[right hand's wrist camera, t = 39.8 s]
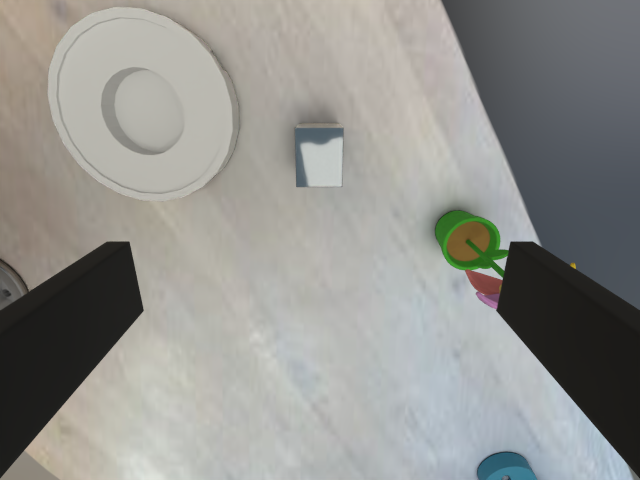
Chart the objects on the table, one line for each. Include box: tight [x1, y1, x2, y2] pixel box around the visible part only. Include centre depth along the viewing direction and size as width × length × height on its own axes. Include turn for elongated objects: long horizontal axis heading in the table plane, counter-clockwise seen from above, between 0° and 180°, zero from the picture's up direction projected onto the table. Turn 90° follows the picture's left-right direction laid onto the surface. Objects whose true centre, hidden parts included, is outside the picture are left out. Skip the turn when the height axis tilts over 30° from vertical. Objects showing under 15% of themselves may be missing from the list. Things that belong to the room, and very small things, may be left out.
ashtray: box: [47, 7, 239, 201], centre depth 47 cm, size 23×23×4 cm
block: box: [295, 123, 343, 187], centre depth 46 cm, size 7×6×10 cm
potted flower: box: [435, 211, 576, 309], centre depth 43 cm, size 9×8×25 cm
